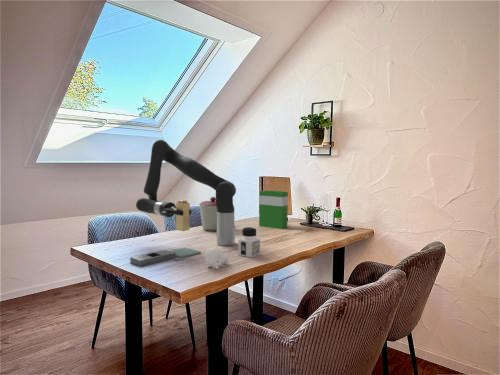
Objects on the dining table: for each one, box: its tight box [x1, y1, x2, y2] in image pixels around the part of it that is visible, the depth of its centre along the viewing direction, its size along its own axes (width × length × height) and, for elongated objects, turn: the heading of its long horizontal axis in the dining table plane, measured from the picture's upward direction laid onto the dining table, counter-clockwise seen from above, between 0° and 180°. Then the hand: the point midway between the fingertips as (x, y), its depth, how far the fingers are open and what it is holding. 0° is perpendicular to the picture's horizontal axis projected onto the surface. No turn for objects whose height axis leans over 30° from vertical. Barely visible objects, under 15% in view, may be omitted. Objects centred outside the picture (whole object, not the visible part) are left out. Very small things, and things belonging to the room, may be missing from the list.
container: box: [237, 226, 261, 258], centre depth 171 cm, size 8×8×13 cm
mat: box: [170, 247, 202, 259], centre depth 173 cm, size 12×12×1 cm
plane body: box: [129, 249, 176, 267], centre depth 160 cm, size 18×8×2 cm, turn 139°
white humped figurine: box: [204, 246, 230, 270], centre depth 153 cm, size 6×8×12 cm
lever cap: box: [175, 199, 191, 232], centre depth 171 cm, size 4×5×14 cm
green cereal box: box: [258, 189, 289, 230], centre depth 243 cm, size 18×7×24 cm, turn 56°
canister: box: [198, 196, 217, 232], centre depth 232 cm, size 18×18×21 cm
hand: (186, 212), depth 169 cm, fingers closed on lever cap, 4 cm apart
